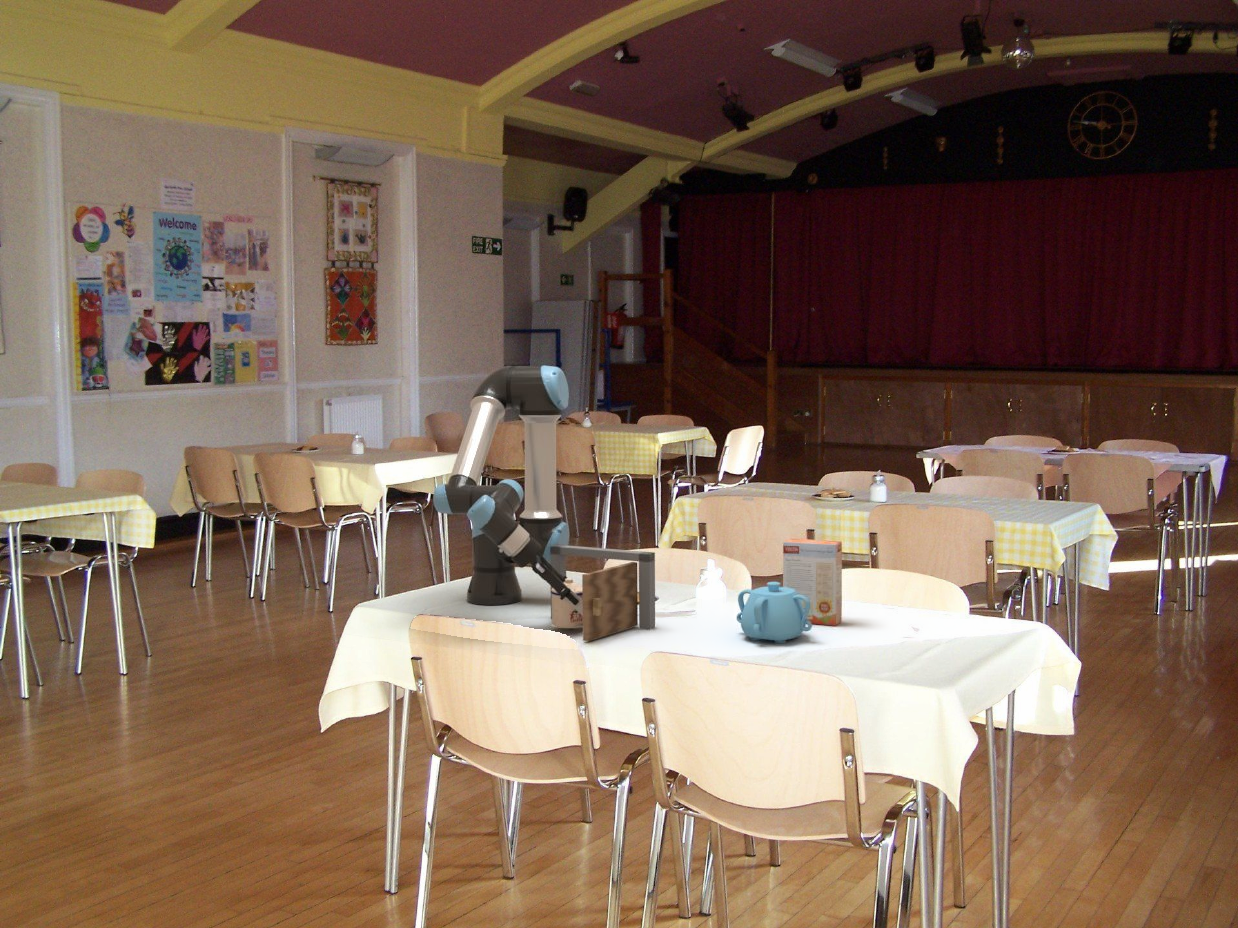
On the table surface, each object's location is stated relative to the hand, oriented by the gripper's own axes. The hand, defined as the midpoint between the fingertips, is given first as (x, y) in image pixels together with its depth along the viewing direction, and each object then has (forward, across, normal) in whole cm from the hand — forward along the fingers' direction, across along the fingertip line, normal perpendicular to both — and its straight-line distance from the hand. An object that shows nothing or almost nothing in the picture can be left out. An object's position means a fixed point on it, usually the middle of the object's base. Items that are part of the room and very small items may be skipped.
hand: (584, 606), depth 319 cm
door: (+8, +8, +1) cm, 11 cm away
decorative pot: (+35, +17, +27) cm, 48 cm away
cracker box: (+45, +2, +37) cm, 58 cm away
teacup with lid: (+1, 0, -5) cm, 5 cm away
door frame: (+7, -6, 0) cm, 9 cm away
